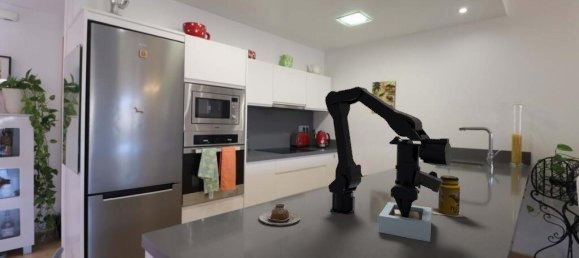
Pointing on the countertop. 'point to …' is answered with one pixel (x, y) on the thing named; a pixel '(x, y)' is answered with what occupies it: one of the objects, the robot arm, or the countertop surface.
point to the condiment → (448, 197)
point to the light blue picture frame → (406, 222)
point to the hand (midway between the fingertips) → (406, 218)
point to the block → (411, 215)
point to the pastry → (279, 216)
